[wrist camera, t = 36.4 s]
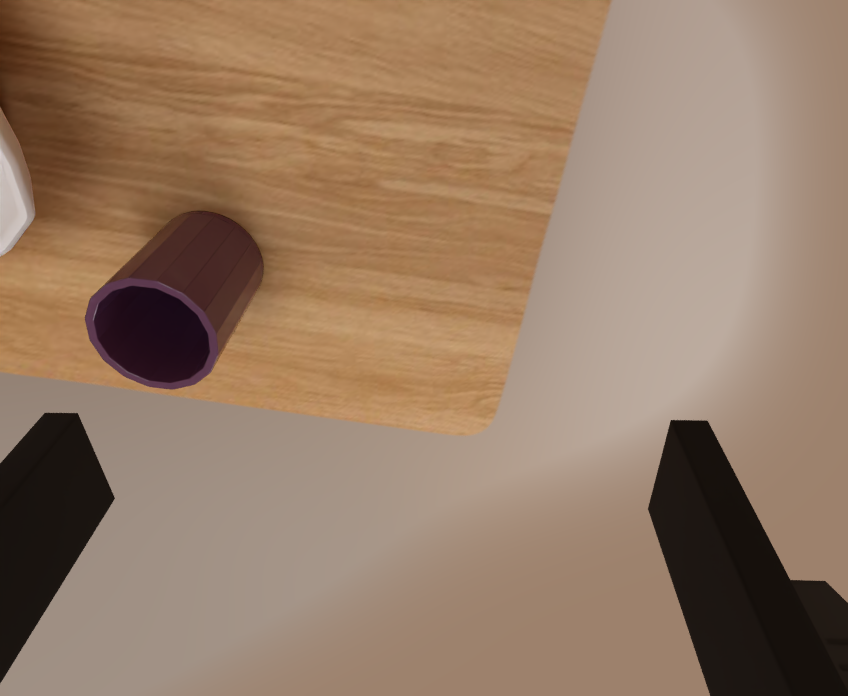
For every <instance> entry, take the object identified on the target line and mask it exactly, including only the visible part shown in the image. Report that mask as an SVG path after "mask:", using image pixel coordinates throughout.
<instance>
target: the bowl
mask: <svg viewBox="0 0 848 696" xmlns="http://www.w3.org/2000/svg"><path fill="white" fill-rule="evenodd" d="M34 217H35V206H34V198H33V190H32V182H31V176H30V173H29V170H28V167H27V164H26V161H25V158H24V155H23V152H22V149H21V146H20V143H19V141H18V139H17V137H16V135H15V133H14V132H13V130H12V128H11V126H10V124H9V122H8V121H7V119H6V117H5V115H4V113H3V111H2V109H1V108H0V257H1V256H2V255H4V254H5V253H6V252H8V251H9V250H10V249H12V248H13V247H14V245H15V244H16V243H17V241H18V240H19V239H20V237H21V236H22V235H23V233H24V232H25V231H26V229H27V228H28V227H29V225H30V224H31V223H32V221H33V220H34Z"/></svg>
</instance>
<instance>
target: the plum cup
mask: <svg viewBox="0 0 848 696" xmlns="http://www.w3.org/2000/svg"><path fill="white" fill-rule="evenodd" d="M262 277H263V261H262V257H261V254H260V251H259V249H258V247H257V245H256V243H255V242H254V240H253V239H252V238H251V236H250V235H249V234H248V233H247V232H246V231H245V230H244V229H243V228H242V227H241V226H239V225H238V224H237V223H235V222H234V221H232V220H230V219H228V218H226V217H224V216H222V215H219V214H215V213H211V212H204V211H195V212H188V213H184V214H182V215H179V216H177V217H175V218H174V219H172V220H171V221H170V222H169V223H168V224H167V225H166V226H164V227H163V228H162V229H161V230H160V231H159V232H158V233H157V234H156V235H155V236H154V237H153V238H152V239H151V240H150V241H149V242H148V243H147V244H146V245H145V246H144V247H143V248H142V249H140V250H139V251H138V252H137V253H136V254H135V255H134V256H133V257H132V258H131V259H130V260H129V261H128V262H127V263H126V264H125V265H124V266H123V267H122V268H121V269H120V270H119V271H118V272H117V273H116V274H115V275H114V276H113V277H112V278H110V279H109V280H108V281H107V282H106V283H105V284H104V285H103V286H102V287H101V288H100V289H99V290H98V291H97V292H96V293H95V294H94V295H93V296H92V297H91V298H90V301H89V304H88V308H87V312H86V315H85V322H86V326H87V330H88V335H89V339H90V341H91V343H92V344H93V346H94V347H95V349H96V350H97V351H98V353H99V354H100V356H101V357H102V359H103V360H104V361H105V362H106V363H108V364H109V365H110V366H111V367H113V368H114V369H115V370H117V371H118V372H119V373H120V374H122V375H123V376H125V377H126V378H129V379H131V380H134V381H136V382H138V383H141V384H143V385H146V386H149V387H154V388H163V389H178V388H182V387H186V386H191V385H194V384H196V383H198V382H199V381H200V380H202V379H203V378H204V377H206V376H207V375H208V374H210V373H211V371H212V370H213V368H214V366H215V364H216V363H217V361H218V359H219V357H220V356H221V354H222V352H223V350H224V349H225V347H226V345H227V343H228V342H229V340H230V338H231V337H232V335H233V333H234V331H235V330H236V328H237V326H238V324H239V323H240V321H241V319H242V317H243V316H244V314H245V312H246V310H247V309H248V307H249V305H250V303H251V302H252V300H253V298H254V296H255V294H256V292H257V290H258V288H259V286H260V284H261V281H262Z"/></svg>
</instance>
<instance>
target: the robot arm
mask: <svg viewBox="0 0 848 696" xmlns="http://www.w3.org/2000/svg"><path fill="white" fill-rule="evenodd" d="M114 499H115V498H114V495H113V493H112V491H111V488H110V486H109V484H108V482H107V479H106V477H105V475H104V473H103V470H102V468H101V466H100V463H99V461H98V459H97V457H96V454H95V452H94V450H93V447H92V445H91V443H90V440H89V438H88V436H87V434H86V431H85V429H84V427H83V424H82V422H81V420H80V417H79V415H78V413H44V415H43V416H42V417H41V418H40V419H39V420H38V421H37V423H36V424H35V425H34V426H33V427H32V428H31V429H30V430H29V432H28V433H27V434H26V435H25V436H24V437H23V438H22V440H21V441H20V442H19V443H18V444H17V445H16V446H15V447H14V449H13V450H12V451H11V452H10V453H9V454H8V455H7V457H6V458H5V459H4V460H3V461H2V462H1V463H0V683H1V681H2V680H3V678H4V677H5V675H6V673H7V672H8V670H9V668H10V667H11V665H12V664H13V662H14V660H15V659H16V657H17V655H18V654H19V652H20V651H21V649H22V647H23V646H24V644H25V643H26V641H27V639H28V638H29V636H30V635H31V633H32V631H33V630H34V628H35V626H36V625H37V623H38V622H39V620H40V618H41V617H42V615H43V613H44V612H45V610H46V609H47V607H48V606H49V604H50V602H51V601H52V599H53V597H54V596H55V594H56V593H57V591H58V589H59V588H60V586H61V585H62V583H63V581H64V580H65V578H66V576H67V575H68V573H69V572H70V570H71V568H72V567H73V565H74V564H75V562H76V560H77V559H78V557H79V555H80V554H81V552H82V551H83V549H84V547H85V546H86V544H87V543H88V541H89V539H90V537H91V536H92V535H93V533H94V531H95V530H96V527H97V526H98V525H99V523H100V522H101V520H102V518H103V517H104V515H105V514H106V512H107V510H108V509H109V507H110V505H111V504H112V502H113V500H114ZM648 510H649V513H650V516H651V519H652V522H653V525H654V528H655V531H656V534H657V537H658V540H659V543H660V546H661V549H662V552H663V555H664V558H665V561H666V564H667V567H668V570H669V573H670V576H671V579H672V582H673V585H674V588H675V591H676V594H677V597H678V600H679V603H680V606H681V609H682V612H683V615H684V618H685V621H686V624H687V627H688V630H689V633H690V636H691V639H692V642H693V645H694V648H695V651H696V654H697V657H698V660H699V663H700V666H701V669H702V672H703V675H704V678H705V681H706V684H707V687H708V690H709V693H710V696H848V603H847V602H846V601H845V600H844V599H843V598H842V597H841V596H840V595H839V594H838V593H837V592H836V591H835V590H834V589H833V588H832V587H831V586H830V585H829V584H828V583H827V582H826V581H802V580H801V581H800V580H790V579H789V577H788V575H787V573H786V571H785V569H784V567H783V565H782V563H781V561H780V559H779V557H778V556H777V554H776V552H775V550H774V548H773V546H772V544H771V542H770V540H769V538H768V536H767V535H766V532H765V530H764V529H763V527H762V525H761V523H760V521H759V519H758V517H757V515H756V513H755V511H754V509H753V507H752V506H751V504H750V502H749V500H748V498H747V496H746V494H745V492H744V490H743V488H742V486H741V484H740V482H739V481H738V478H737V477H736V475H735V473H734V471H733V469H732V467H731V465H730V463H729V461H728V459H727V457H726V455H725V454H724V452H723V450H722V448H721V446H720V444H719V442H718V440H717V438H716V436H715V434H714V432H713V430H712V429H711V426H710V425H709V423H708V421H692V420H691V421H690V420H688V421H687V420H671V422H670V426H669V429H668V434H667V437H666V442H665V445H664V449H663V453H662V457H661V461H660V465H659V468H658V473H657V476H656V480H655V484H654V488H653V492H652V495H651V499H650V503H649V507H648Z"/></svg>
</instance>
